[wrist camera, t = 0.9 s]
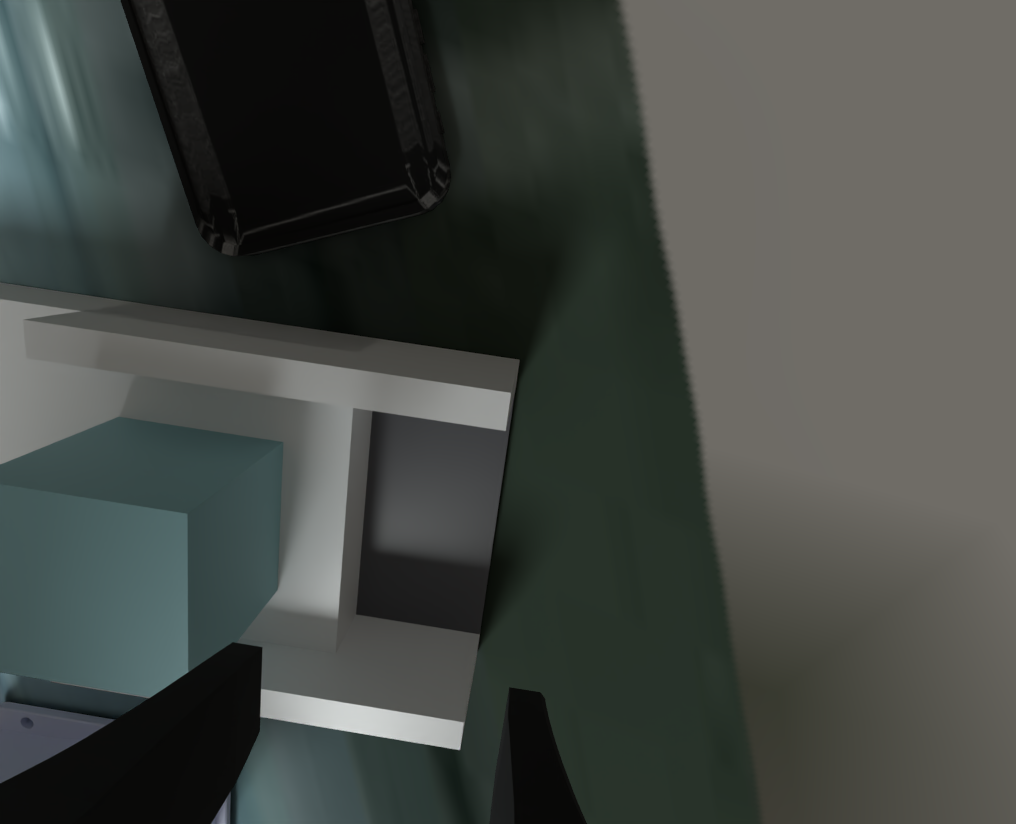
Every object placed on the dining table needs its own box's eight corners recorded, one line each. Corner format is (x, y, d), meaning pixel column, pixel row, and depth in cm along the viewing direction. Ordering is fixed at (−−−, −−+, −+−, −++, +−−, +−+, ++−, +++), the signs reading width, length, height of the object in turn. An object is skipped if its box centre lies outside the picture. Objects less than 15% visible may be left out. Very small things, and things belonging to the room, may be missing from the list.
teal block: (124, 565, 20) (-14, 669, 15) (118, 416, 18) (-35, 478, 14) (277, 590, 20) (188, 704, 15) (283, 441, 18) (187, 513, 13)
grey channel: (-88, 561, 23) (-235, 634, 19) (-130, 262, 20) (-316, 268, 16) (477, 652, 23) (460, 750, 18) (519, 359, 20) (511, 392, 15)
